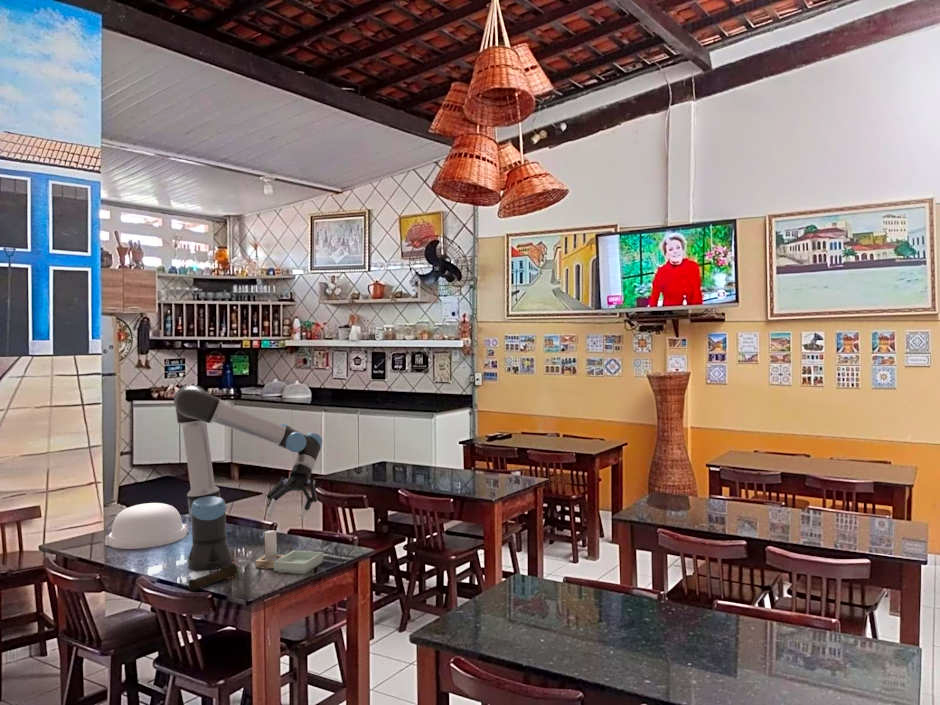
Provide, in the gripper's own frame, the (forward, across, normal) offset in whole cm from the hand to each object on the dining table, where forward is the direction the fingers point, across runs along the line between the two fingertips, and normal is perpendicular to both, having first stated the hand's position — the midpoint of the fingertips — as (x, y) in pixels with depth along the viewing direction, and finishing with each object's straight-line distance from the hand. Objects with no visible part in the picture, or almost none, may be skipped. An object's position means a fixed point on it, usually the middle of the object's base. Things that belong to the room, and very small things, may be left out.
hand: (285, 516), depth 278 cm
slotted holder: (+18, 0, -3) cm, 18 cm away
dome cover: (+2, +71, -20) cm, 73 cm away
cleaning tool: (+18, 0, -3) cm, 18 cm away
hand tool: (+33, +10, +11) cm, 36 cm away
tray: (+18, -11, -3) cm, 21 cm away
